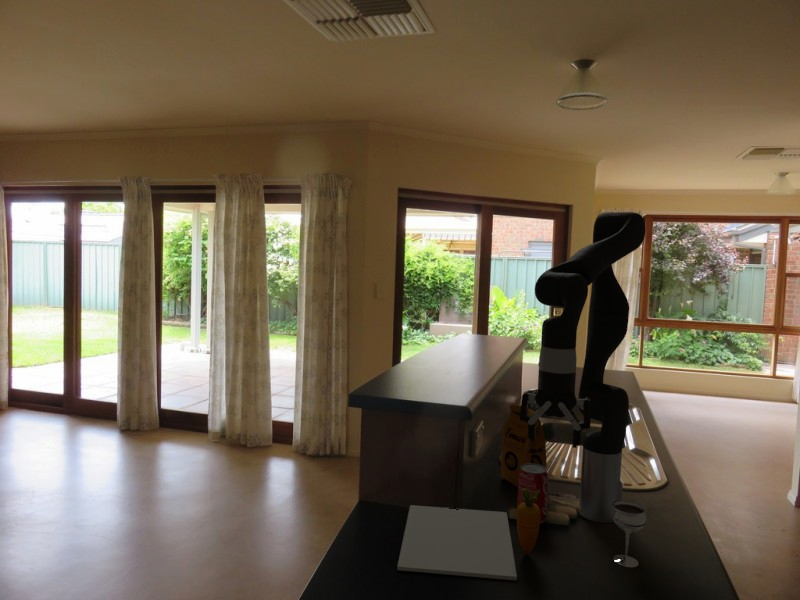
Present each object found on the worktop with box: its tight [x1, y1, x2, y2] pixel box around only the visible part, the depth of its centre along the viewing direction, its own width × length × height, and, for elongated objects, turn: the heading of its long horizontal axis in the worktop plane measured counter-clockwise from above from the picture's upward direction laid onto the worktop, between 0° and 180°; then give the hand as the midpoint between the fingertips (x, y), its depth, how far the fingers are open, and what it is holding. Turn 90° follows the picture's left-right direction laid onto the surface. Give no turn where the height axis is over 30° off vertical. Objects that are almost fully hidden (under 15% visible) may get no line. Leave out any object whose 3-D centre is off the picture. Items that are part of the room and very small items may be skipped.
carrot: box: [516, 488, 541, 556], centre depth 123 cm, size 5×5×15 cm
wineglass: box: [612, 499, 647, 568], centre depth 122 cm, size 7×7×12 cm
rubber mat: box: [396, 504, 518, 581], centre depth 129 cm, size 24×28×1 cm
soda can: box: [516, 463, 549, 525], centre depth 139 cm, size 7×7×13 cm
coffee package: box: [500, 403, 548, 488], centre depth 160 cm, size 10×12×22 cm
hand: (553, 444), depth 120 cm, fingers open, 8 cm apart
